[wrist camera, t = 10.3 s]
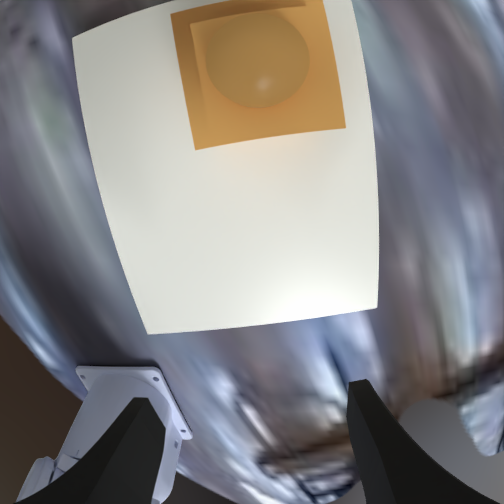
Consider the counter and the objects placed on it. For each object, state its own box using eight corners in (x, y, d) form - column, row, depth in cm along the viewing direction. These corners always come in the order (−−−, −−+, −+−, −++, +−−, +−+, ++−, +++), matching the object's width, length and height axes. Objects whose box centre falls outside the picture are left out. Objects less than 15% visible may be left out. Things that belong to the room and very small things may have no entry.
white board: (370, 294, 19) (376, 307, 18) (154, 320, 20) (147, 334, 19) (339, -11, 12) (345, -20, 11) (85, 42, 13) (72, 38, 12)
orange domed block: (321, 124, 14) (354, 129, 9) (214, 139, 14) (188, 154, 9) (303, 24, 12) (325, -20, 7) (195, 40, 12) (161, 5, 7)
